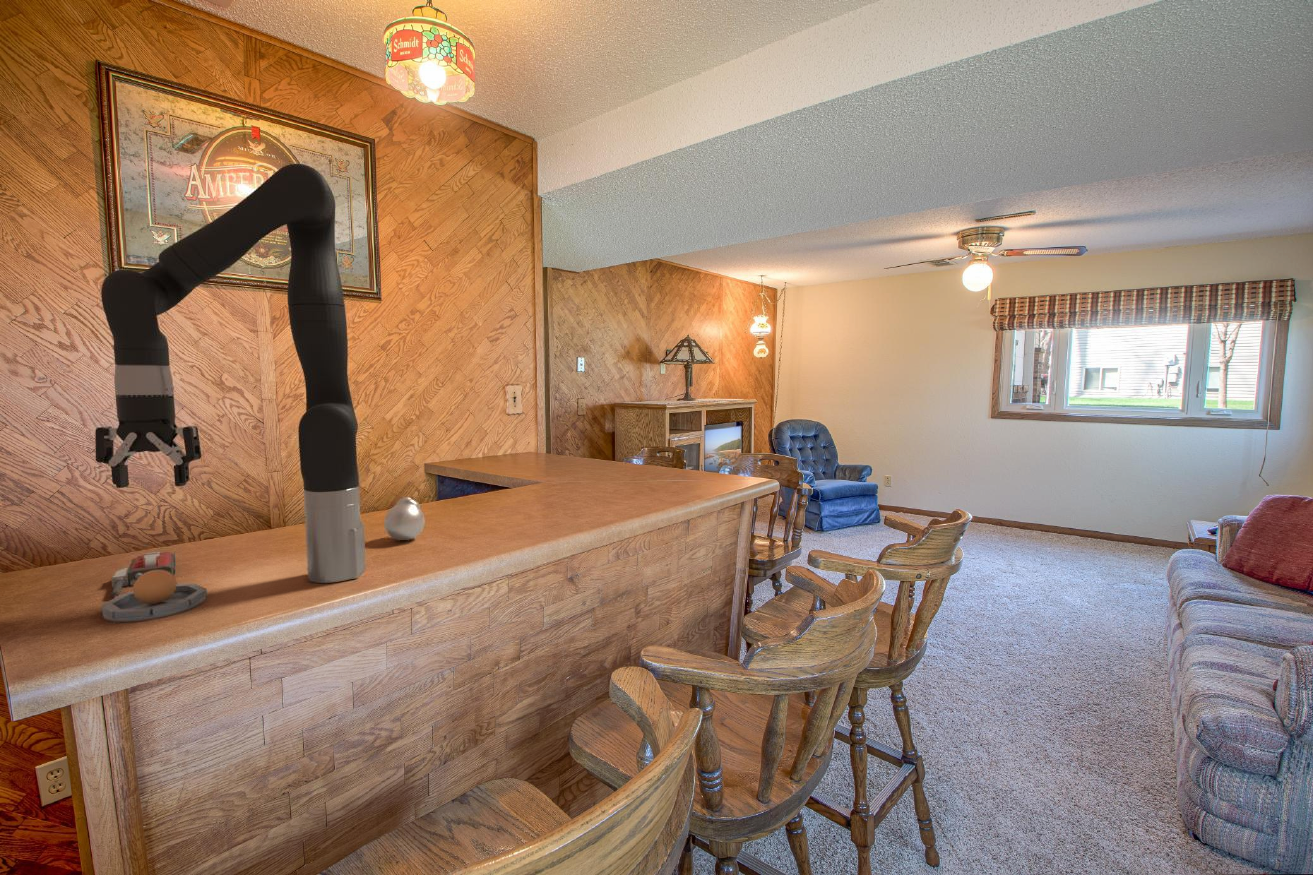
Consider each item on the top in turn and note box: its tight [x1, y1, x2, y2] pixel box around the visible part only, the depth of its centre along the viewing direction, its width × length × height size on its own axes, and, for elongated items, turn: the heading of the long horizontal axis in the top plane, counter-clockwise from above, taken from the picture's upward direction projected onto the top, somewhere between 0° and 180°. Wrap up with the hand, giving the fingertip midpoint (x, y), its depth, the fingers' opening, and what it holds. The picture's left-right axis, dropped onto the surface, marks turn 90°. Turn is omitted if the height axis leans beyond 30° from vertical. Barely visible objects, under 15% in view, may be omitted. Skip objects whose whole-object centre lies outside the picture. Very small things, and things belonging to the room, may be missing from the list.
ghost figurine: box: [383, 496, 426, 541], centre depth 139 cm, size 9×9×10 cm
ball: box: [132, 570, 178, 604], centre depth 97 cm, size 6×6×6 cm
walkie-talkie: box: [111, 551, 176, 597], centre depth 110 cm, size 9×4×20 cm
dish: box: [101, 582, 208, 623], centre depth 97 cm, size 13×13×2 cm
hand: (152, 486), depth 101 cm, fingers open, 8 cm apart
